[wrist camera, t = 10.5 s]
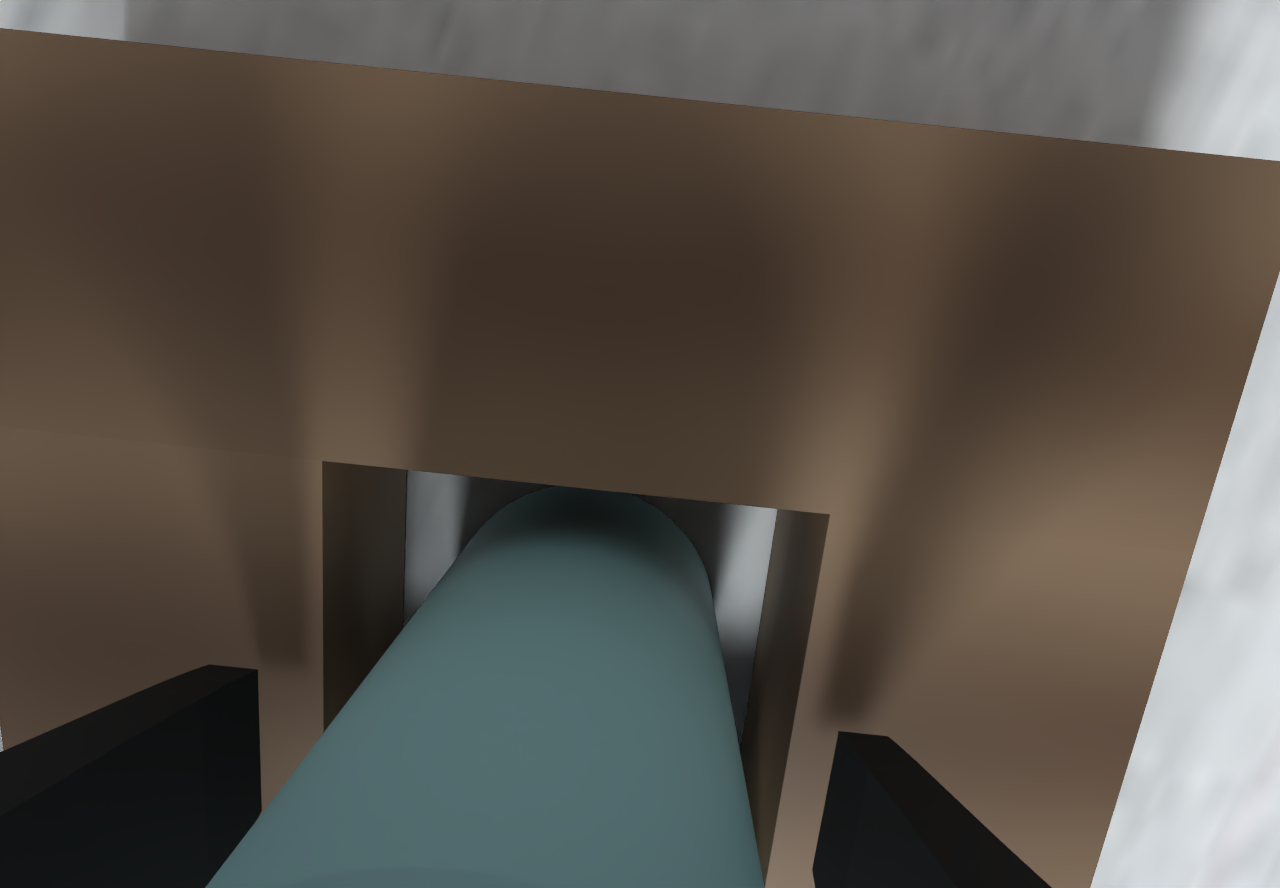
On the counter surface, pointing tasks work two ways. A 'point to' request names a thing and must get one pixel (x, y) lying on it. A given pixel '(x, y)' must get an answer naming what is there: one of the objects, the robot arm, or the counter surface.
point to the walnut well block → (615, 395)
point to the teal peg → (531, 725)
